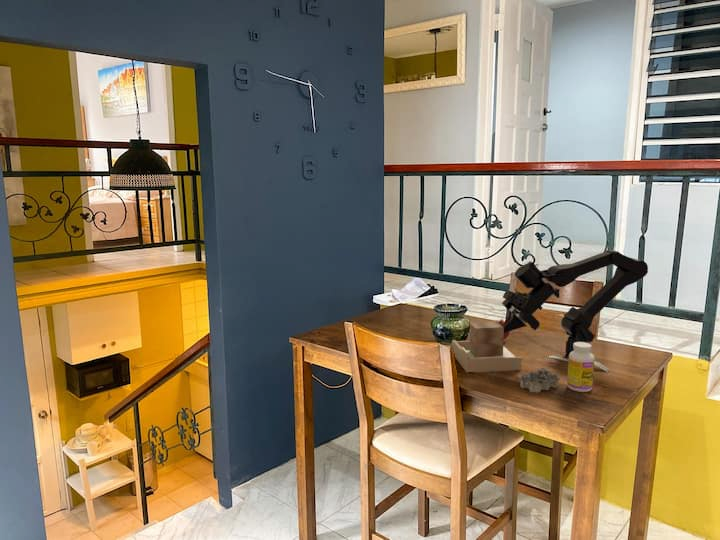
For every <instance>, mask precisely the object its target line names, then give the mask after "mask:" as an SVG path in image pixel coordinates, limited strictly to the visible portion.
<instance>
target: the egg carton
mask: <svg viewBox="0 0 720 540" xmlns="http://www.w3.org/2000/svg"><path fill="white" fill-rule="evenodd" d="M517 379H520V382H519V383H520V386H519V387H520V388H522V389H528V390H529V392H531V393H541V391H542V390H545V391H548V390H549V389H550V388H558V383H559V382H560V380H561V379H562V377H561V376H559V377H558V376H557V374H556V373H554V372H551V371H550V370H547V369H546V368H544V367H542V368H540V369H538V370H535V371H534V370H532V371H529V372H527V373H520V374H519V375H518V377H517Z"/></svg>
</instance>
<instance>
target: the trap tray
mask: <svg viewBox="0 0 720 540" xmlns="http://www.w3.org/2000/svg"><path fill="white" fill-rule="evenodd" d="M452 346H453V349H454V353H455V357H454V358H455V359H456V361H457V362H458V363H459V364H460V366H461V367H462V368H463V370H464V371H465V372H466V373H467V374H469V373H468V372H475V373H489V372H490V373H492V371H493V372H509V371H512V372H513V371H521V370H522V356H515V355H514V354H513V353H512V352H511V351H510V350H509V349H508V348H506V346H504V345H503V356H494V357H474V355H473V354H472V353H471V352H470V340H459V341H458V340H456V339H452V341H451V347H452Z"/></svg>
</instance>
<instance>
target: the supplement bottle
mask: <svg viewBox="0 0 720 540" xmlns="http://www.w3.org/2000/svg"><path fill="white" fill-rule="evenodd" d="M592 346H593V345H592V344H591V343H590V344H589V343H585V342H575V343H574V344H573V349H574V351H572V352H571V353H570V354H569V357H568V360H569V362H568V364H567V365H568V366H567V380H566V382H567V383H566V386H567V387H568V388H569V389H570V390H571V391H575V392H579V393H588V392H591V391H592V390H593V385H594V372H595V371H594V370H595V369H594V368H595V365H594V361H595V355H594V354H593V353H592V352H591V351H592Z"/></svg>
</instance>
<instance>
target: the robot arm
mask: <svg viewBox="0 0 720 540" xmlns="http://www.w3.org/2000/svg"><path fill="white" fill-rule="evenodd" d="M611 265H613V266H615V267H616V268H615V272H614V274H613V276H612V278H610V279H609V280H608V281H607V282H606V283H605V284H604V285H603V286H602V287H601V288H600V289H599V290H598V291H597V292H596V293H595V294H593V296H592V297H590V298H589V300H587V301H586V302H585V304H583V305H582V306H580V307H579V308H576V307H574V306H572V307H570V309H569V310H568V311H567V312H566V313H564V314H562V315H563V317H562V318H561V327H562V329H563V330H564V331H565V334H566V335H567V336H568V337H567V340H566V341H565V354H564V357H566V358H569V354H570V353H571V352H572V351H574V349H573V344H574V343H575V342H585V343H589V344H591V342H593V341H594V338H595V334H594V333H593V332H592V331H591V330H590V328H591V326H592V323H593V321H594V318H595V317H596V316H597V315H598V314H599V313H600V312H601V311H602V310H603V309H604V308H605V307H606V306H607V305H608V304H609V303H610V302H611V301H612V300H614V299H615V297H617V296H618V295H619V293H621V292H623V290H624V289H625V288H626V287H628V286H630V285H632V284H635V283H637V282H639V281H640V280H642V279H643V278H645V277H646V276H647V274H648V273H649V266H648V264H647V262H646V261H644V260H641V259H637V258H633V257H628V256H626V255H624V254H622V253H621V252H619V251H617V250H613V249H608V250H607V249H606V250H605V251H603V252H600V253H598V254H594V255H592V256H590V257H587V258H584V259H581V260H579V261H575V262H573V263H564V264H562V263H561V264H557V265H556V264H555V265H552V266H550V267H548V268H547V269H544V270H543V269H542V270H540V269H539V268H538V267H537V266H536V264H535V263H534V262H532V261H529V262H527V263H525V264H523V265H521V266H519V267H518V268H517V269H516V270H515V272H514V277H515V278H516V280H518V281H519V282H520V283H521V284H522V285H523V286H524V287H525V288H526V289H531V290H530V291H528V292H520V291H519V290H518V291H516V292H515V291H514V290H510V289H509V288H506V290H505V292H504V294H503V296H502V298H503V299H504V300H503V301H502V302H501V305H503V307H505V309H506V312H507V313H506V314H507V316H506V319H505V320H504V324H503V327H504V333H507V332H509V331H510V332H512V331H515V330H518V329H521V328H524V327H525V328H526V327H527V324H528V325H529V326H530V328H531V329H533V331H537V330H538V328H540V325H541V324H540V323H541V322H540V320H538V319H537V318H536V317H535V316H534V314H535V313H536V312H537V311H538V310H539V311H542V310H543V305H544V304H545V303H546V302H547V301H548V300H549V299H550V298H551V297H552V296H554V297H555V298H556V299H559V298H560V289H559V288H557V287H560V288H563V287H566V286H568V285H570V284H572V283H574V282H575V280H576V279H578V278H579V277H581V276H583V275H586V274H589V273H592V272H594V271H597V270H600V269H603V268H605V267H606V268H607V267H608V266H611ZM544 280H545V281H544ZM546 281H547V282H546ZM553 285H555V286H556V287H554V286H553Z"/></svg>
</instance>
